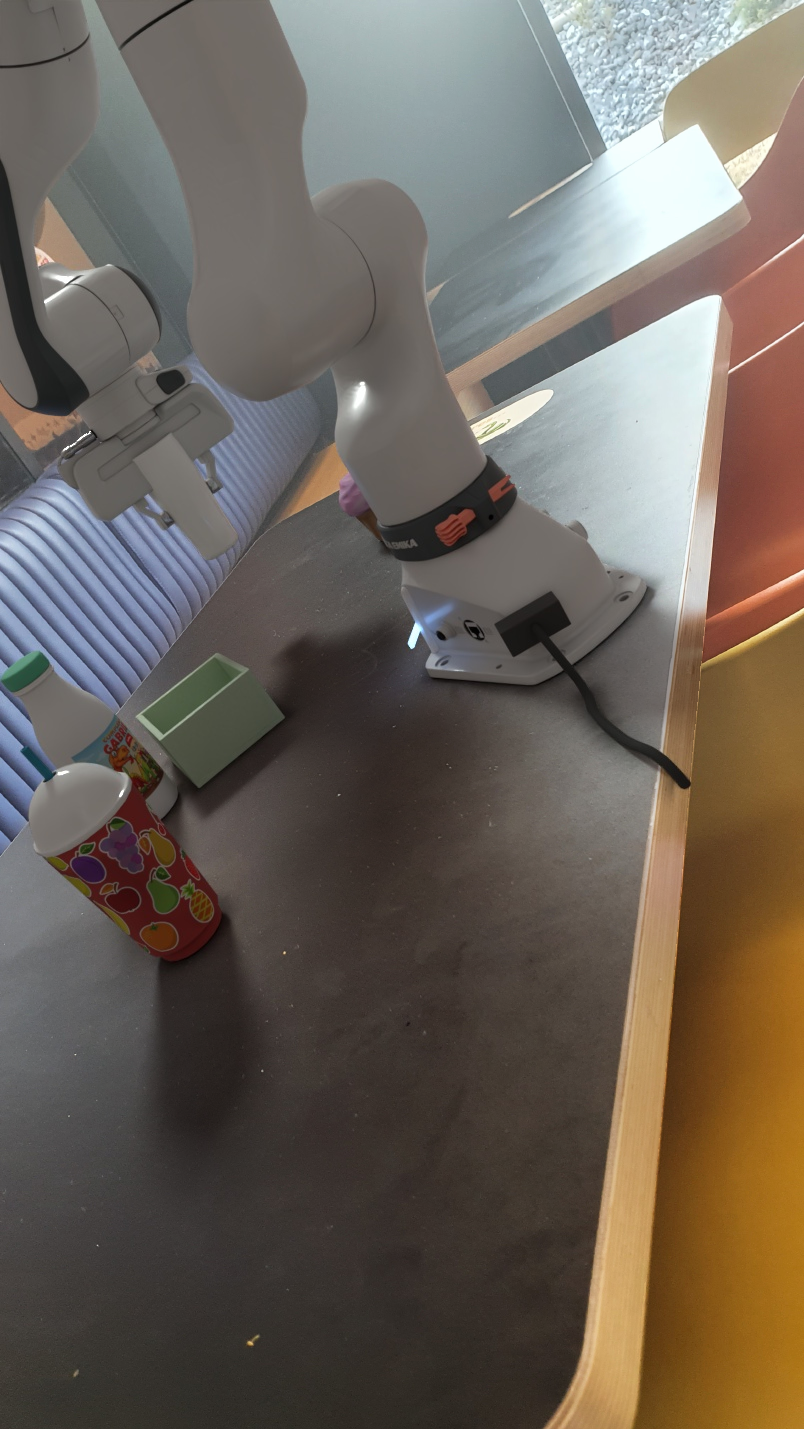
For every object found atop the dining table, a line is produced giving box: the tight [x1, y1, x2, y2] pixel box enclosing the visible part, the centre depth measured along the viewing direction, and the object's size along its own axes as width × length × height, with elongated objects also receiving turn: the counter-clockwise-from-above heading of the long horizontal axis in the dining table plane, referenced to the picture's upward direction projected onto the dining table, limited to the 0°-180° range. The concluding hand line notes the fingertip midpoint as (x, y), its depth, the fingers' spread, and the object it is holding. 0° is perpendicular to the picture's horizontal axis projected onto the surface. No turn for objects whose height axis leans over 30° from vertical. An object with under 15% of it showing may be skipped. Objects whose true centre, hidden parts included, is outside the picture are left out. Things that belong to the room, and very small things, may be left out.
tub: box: [135, 652, 286, 789], centre depth 103 cm, size 11×11×7 cm
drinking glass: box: [132, 432, 239, 562], centre depth 117 cm, size 7×7×15 cm
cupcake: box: [338, 472, 384, 542], centre depth 129 cm, size 9×9×10 cm
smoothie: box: [19, 745, 222, 962], centre depth 72 cm, size 8×8×20 cm
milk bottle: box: [0, 650, 179, 821], centre depth 95 cm, size 8×8×20 cm
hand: (193, 508), depth 118 cm, fingers closed on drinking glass, 6 cm apart
